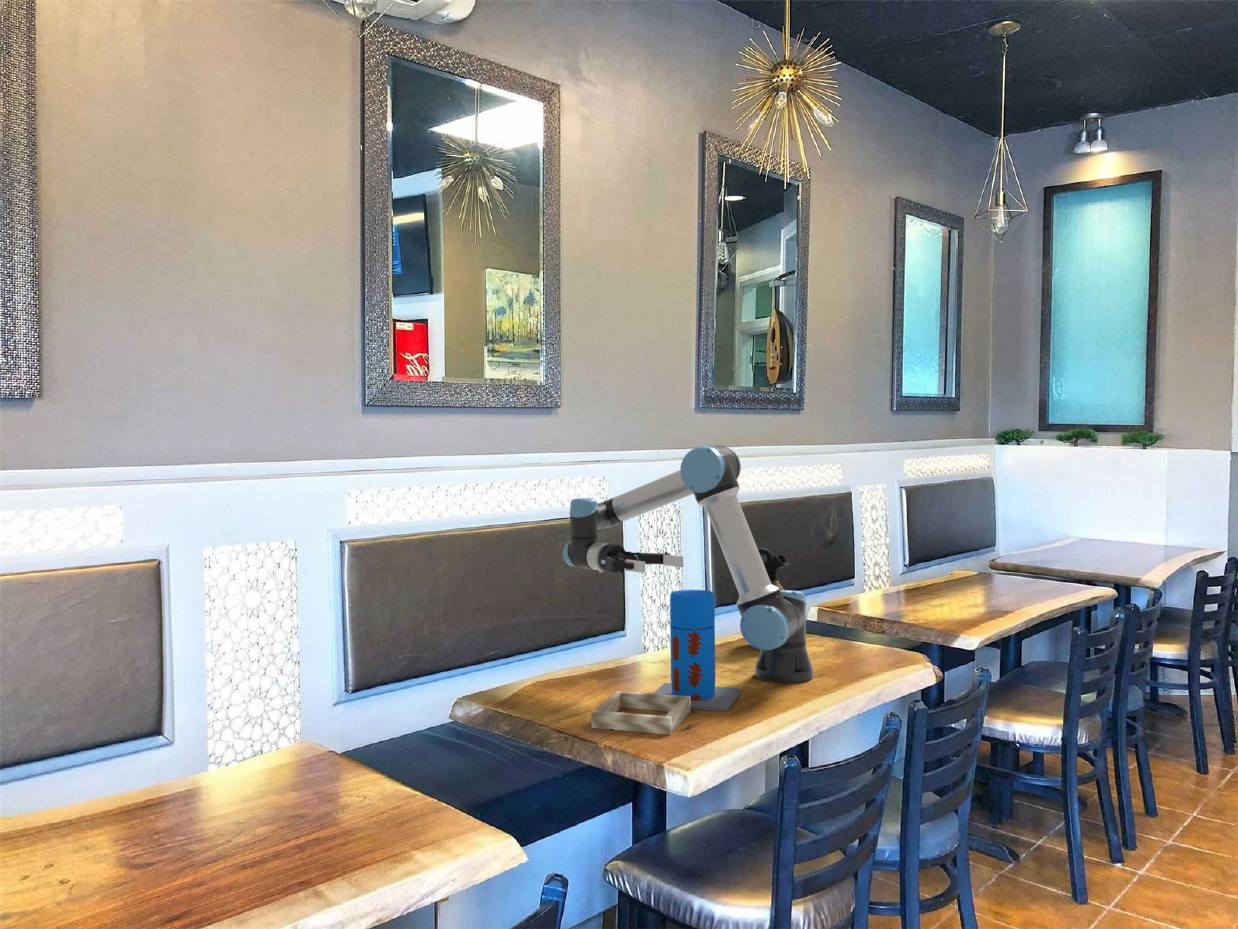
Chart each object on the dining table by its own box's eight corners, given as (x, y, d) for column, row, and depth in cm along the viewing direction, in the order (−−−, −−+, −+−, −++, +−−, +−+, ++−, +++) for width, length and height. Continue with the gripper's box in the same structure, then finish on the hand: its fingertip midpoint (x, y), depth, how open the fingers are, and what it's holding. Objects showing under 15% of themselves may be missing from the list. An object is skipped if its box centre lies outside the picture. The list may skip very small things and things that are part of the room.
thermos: (717, 700, 219) (715, 596, 219) (672, 701, 219) (670, 597, 219) (713, 688, 230) (712, 589, 230) (670, 689, 230) (669, 589, 230)
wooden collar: (690, 711, 214) (690, 696, 214) (670, 734, 197) (670, 718, 197) (617, 705, 219) (617, 691, 219) (591, 727, 202) (591, 712, 202)
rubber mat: (741, 691, 230) (741, 688, 230) (726, 711, 213) (726, 708, 213) (664, 686, 236) (664, 683, 236) (644, 705, 219) (644, 701, 219)
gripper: (641, 567, 255) (697, 574, 240) (572, 576, 239) (627, 585, 223) (640, 540, 255) (697, 545, 240) (571, 547, 238) (627, 554, 223)
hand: (663, 564), depth 231 cm, fingers open, 13 cm apart
